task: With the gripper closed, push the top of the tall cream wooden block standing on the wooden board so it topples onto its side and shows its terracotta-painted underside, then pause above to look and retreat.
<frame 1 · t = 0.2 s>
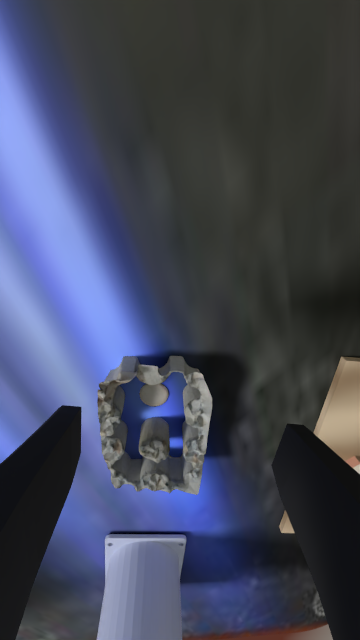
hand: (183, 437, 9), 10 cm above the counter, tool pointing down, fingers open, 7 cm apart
egg carton: (157, 407, 22), on the counter
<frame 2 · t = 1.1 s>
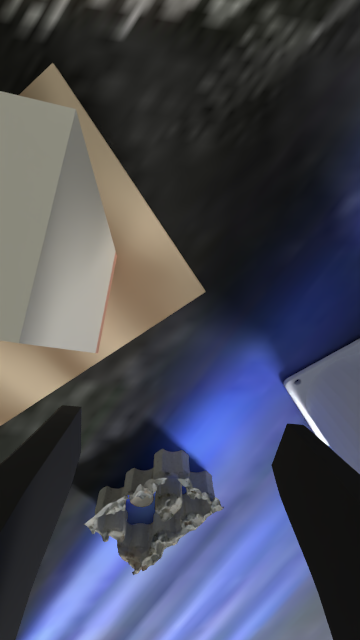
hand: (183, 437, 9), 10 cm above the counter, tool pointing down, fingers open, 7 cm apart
wooden board: (19, 288, 18), on the counter
cream block: (69, 296, 16), point 2 cm above the counter, tilted 30°, touching wooden board
egg carton: (154, 484, 26), on the counter
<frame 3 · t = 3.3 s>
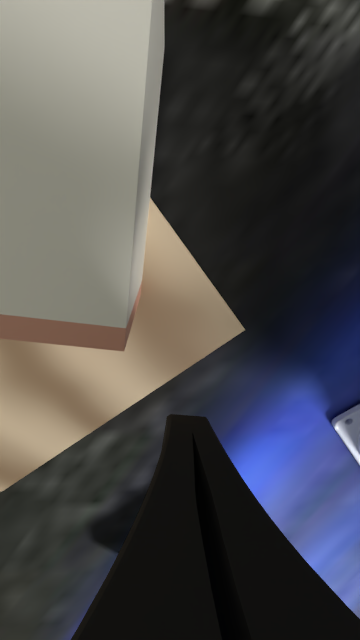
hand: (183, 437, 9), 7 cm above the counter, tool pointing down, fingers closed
wooden board: (26, 335, 15), on the counter
cream block: (78, 310, 11), point 4 cm above the counter, tilted 90°, touching wooden board
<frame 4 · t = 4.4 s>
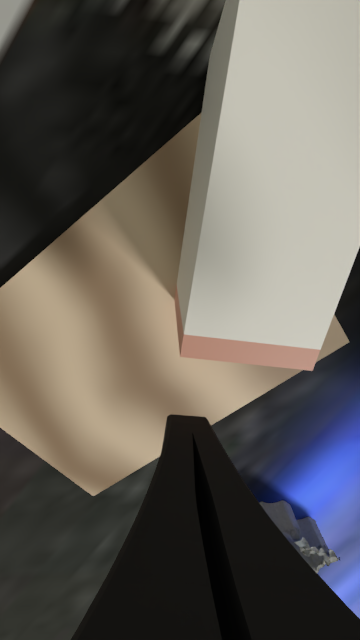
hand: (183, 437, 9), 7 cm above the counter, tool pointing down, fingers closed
wooden board: (138, 347, 16), on the counter
cream block: (228, 327, 12), point 4 cm above the counter, tilted 90°, touching wooden board
egg carton: (251, 535, 24), on the counter
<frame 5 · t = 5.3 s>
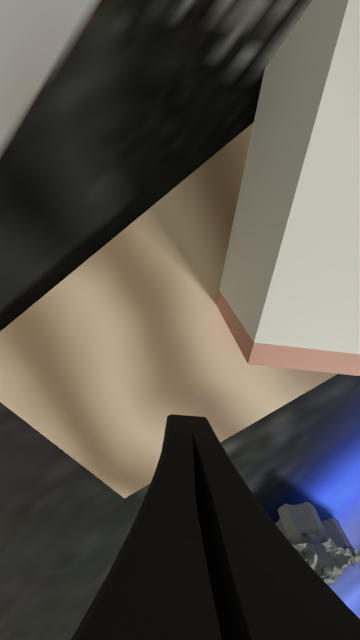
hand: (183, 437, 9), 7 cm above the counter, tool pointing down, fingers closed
wooden board: (176, 351, 16), on the counter
cream block: (278, 333, 12), point 4 cm above the counter, tilted 90°, touching wooden board
egg carton: (274, 536, 24), on the counter
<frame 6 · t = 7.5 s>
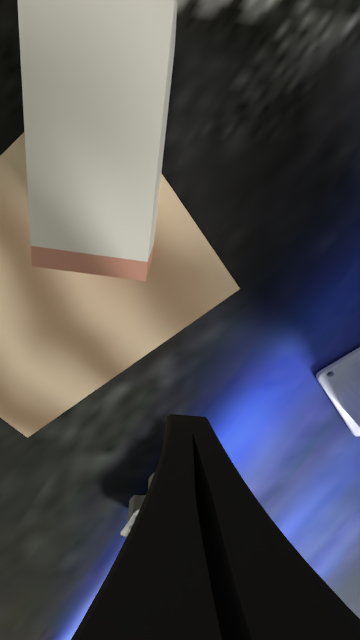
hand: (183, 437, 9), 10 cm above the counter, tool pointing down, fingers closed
wooden board: (54, 294, 18), on the counter
cream block: (105, 261, 14), point 4 cm above the counter, tilted 90°, touching wooden board
egg carton: (179, 483, 26), on the counter
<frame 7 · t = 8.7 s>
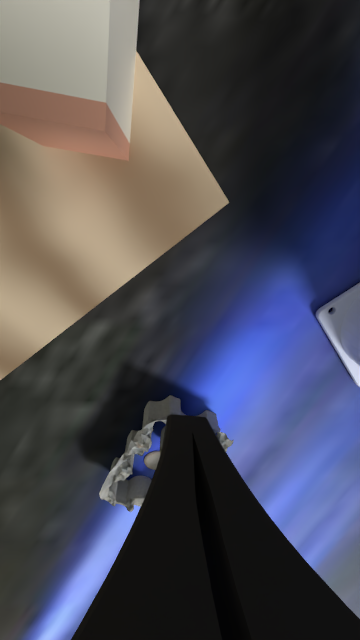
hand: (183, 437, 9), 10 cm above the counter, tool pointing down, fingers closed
wooden board: (21, 208, 16), on the counter
cream block: (67, 140, 12), point 4 cm above the counter, tilted 90°, touching wooden board
egg carton: (163, 442, 24), on the counter
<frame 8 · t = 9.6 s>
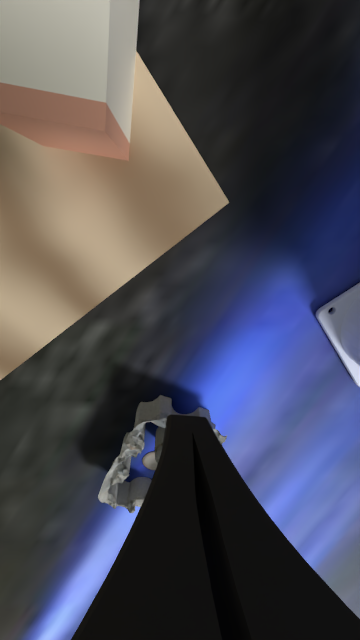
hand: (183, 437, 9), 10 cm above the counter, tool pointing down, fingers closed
wooden board: (21, 208, 16), on the counter
cream block: (67, 140, 12), point 4 cm above the counter, tilted 90°, touching wooden board
egg carton: (160, 442, 24), on the counter
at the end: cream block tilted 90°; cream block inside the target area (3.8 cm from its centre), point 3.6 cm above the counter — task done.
